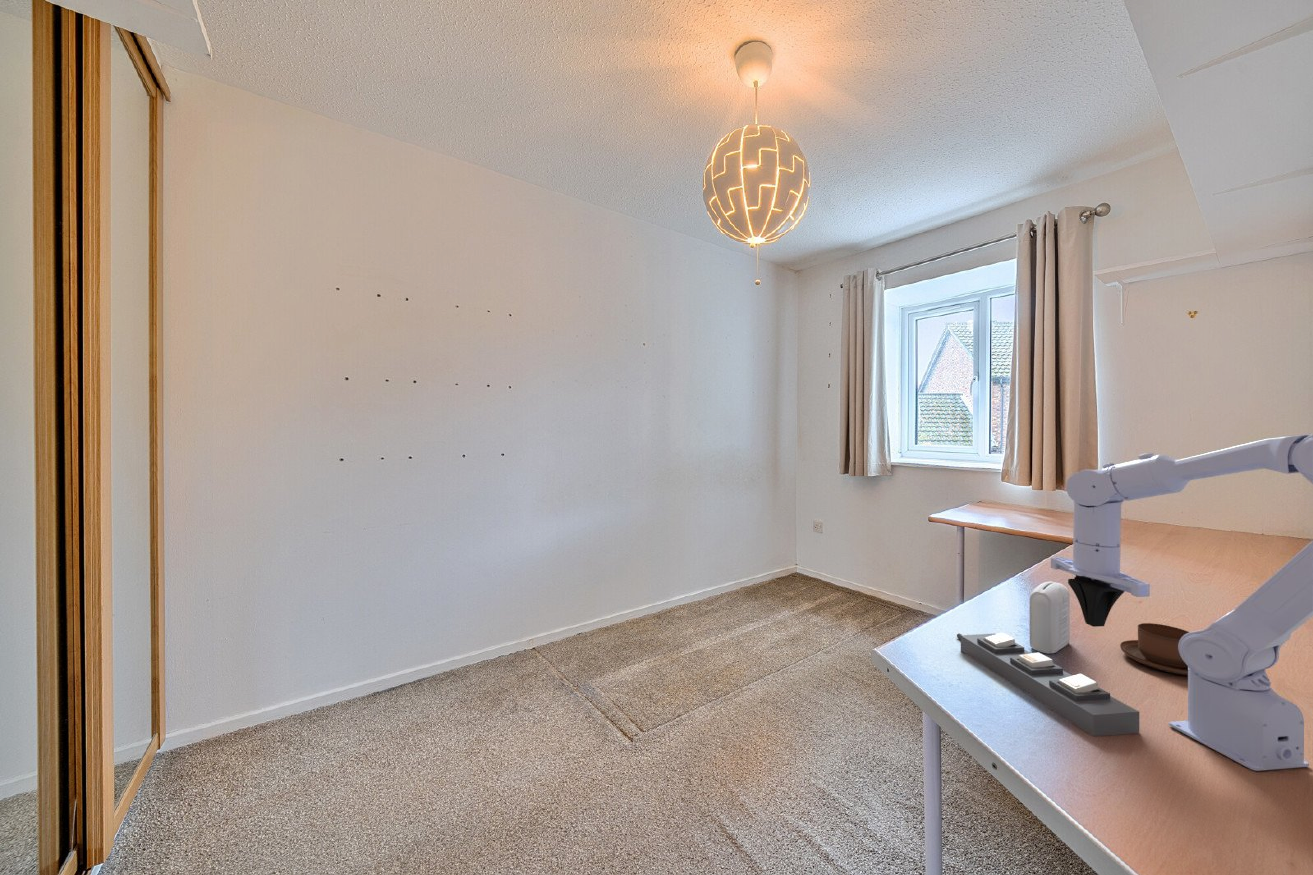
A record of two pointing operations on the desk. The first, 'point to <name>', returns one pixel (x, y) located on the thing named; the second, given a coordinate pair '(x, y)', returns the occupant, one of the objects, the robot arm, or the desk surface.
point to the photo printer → (1049, 617)
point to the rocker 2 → (1079, 683)
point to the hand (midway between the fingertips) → (1094, 624)
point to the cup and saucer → (1157, 648)
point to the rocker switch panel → (1054, 689)
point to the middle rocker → (1036, 660)
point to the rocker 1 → (1000, 640)
